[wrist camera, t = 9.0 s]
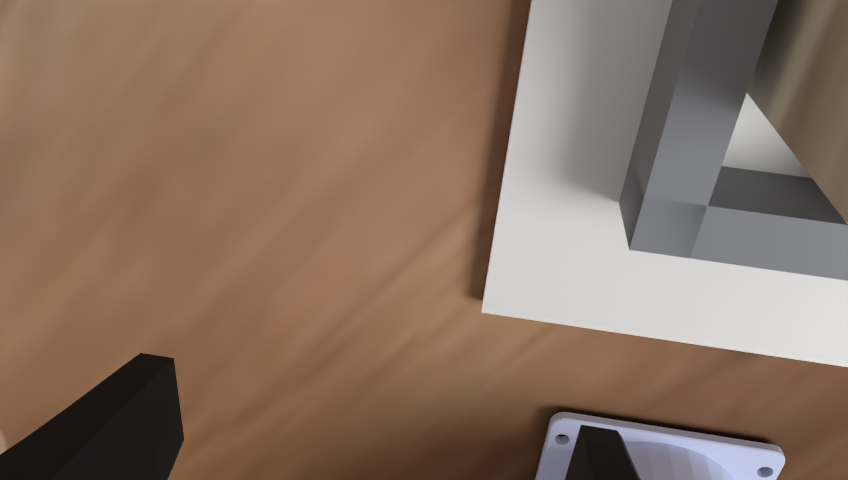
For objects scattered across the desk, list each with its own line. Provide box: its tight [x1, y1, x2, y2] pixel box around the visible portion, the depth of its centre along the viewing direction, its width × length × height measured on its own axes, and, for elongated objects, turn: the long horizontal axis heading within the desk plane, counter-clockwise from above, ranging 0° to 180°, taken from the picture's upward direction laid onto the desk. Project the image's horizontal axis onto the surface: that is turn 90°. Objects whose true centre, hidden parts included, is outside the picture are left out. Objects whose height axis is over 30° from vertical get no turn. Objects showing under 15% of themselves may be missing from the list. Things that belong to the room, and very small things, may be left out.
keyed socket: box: [481, 0, 848, 367], centre depth 16 cm, size 20×14×3 cm
